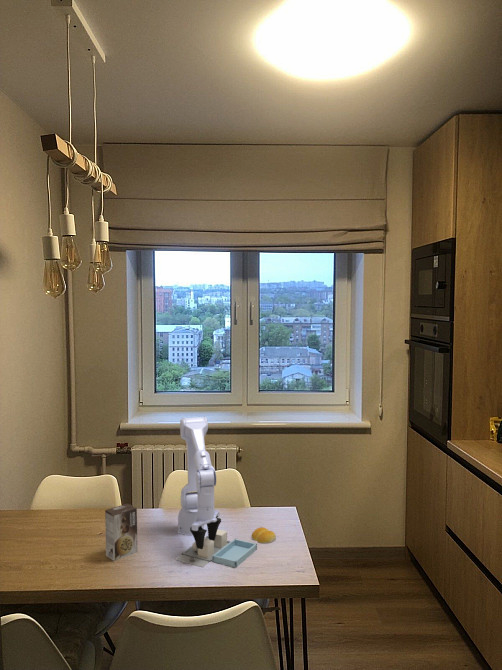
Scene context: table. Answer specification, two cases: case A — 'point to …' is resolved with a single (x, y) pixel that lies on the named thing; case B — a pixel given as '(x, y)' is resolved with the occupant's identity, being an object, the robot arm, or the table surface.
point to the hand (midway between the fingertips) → (206, 543)
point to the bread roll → (263, 535)
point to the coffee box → (121, 531)
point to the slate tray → (196, 556)
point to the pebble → (194, 547)
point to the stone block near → (206, 549)
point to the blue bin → (234, 553)
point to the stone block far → (220, 539)
